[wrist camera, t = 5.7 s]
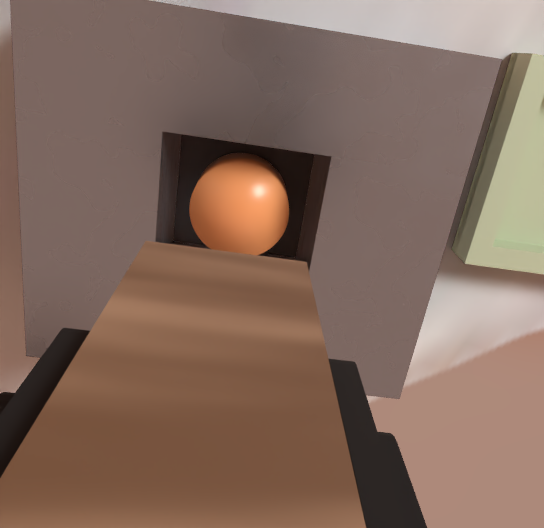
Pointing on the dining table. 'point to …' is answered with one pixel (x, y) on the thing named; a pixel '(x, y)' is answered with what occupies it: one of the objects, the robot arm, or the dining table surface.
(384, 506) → the robot arm
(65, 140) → the block
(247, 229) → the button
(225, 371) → the walnut peg
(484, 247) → the holder tray
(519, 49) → the dining table surface
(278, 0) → the dining table surface
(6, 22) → the dining table surface
